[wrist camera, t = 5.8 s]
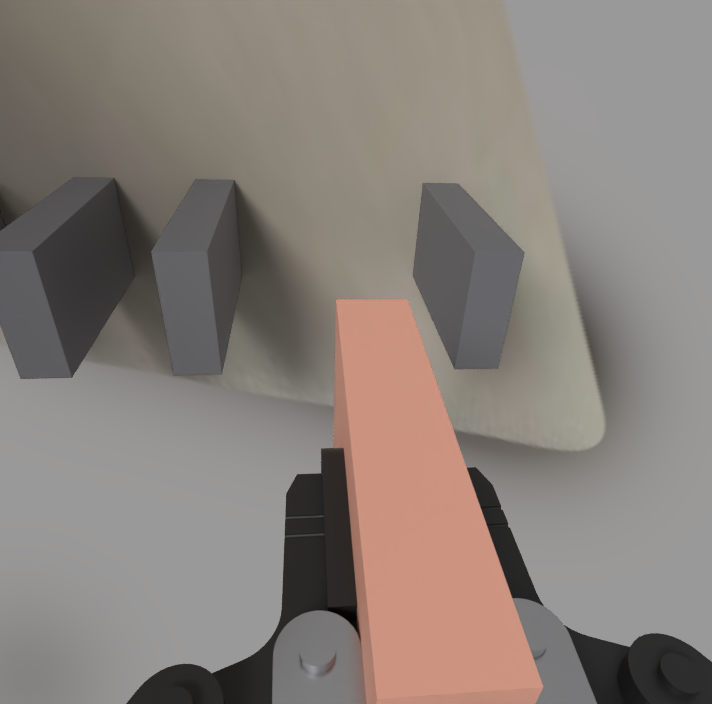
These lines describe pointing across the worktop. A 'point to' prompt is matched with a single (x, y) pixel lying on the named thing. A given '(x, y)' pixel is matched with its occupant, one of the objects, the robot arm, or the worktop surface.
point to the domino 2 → (200, 277)
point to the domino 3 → (465, 275)
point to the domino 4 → (418, 528)
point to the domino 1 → (62, 276)
